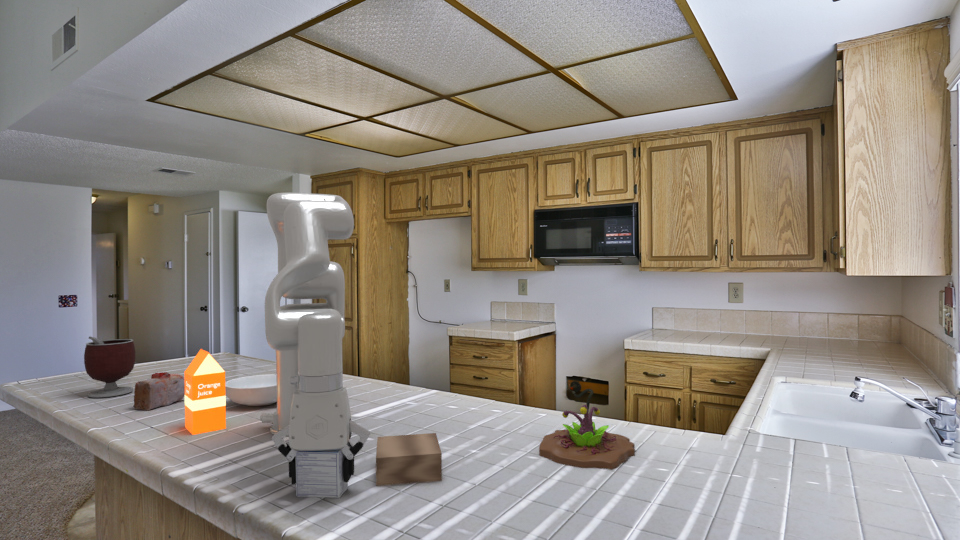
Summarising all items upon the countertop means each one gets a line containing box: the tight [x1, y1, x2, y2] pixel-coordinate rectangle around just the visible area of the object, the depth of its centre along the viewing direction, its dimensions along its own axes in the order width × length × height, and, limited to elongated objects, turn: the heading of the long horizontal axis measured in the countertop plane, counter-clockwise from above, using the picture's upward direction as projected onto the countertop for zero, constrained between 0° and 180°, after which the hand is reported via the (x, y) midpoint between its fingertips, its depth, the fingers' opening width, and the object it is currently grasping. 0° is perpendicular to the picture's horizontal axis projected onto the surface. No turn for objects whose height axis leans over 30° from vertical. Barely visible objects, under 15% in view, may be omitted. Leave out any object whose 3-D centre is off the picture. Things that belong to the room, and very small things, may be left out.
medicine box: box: [295, 449, 349, 499], centre depth 90 cm, size 8×4×9 cm, turn 84°
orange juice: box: [183, 348, 227, 436], centre depth 130 cm, size 8×9×20 cm
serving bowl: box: [225, 373, 277, 407], centre depth 155 cm, size 21×21×7 cm
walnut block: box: [375, 432, 443, 487], centre depth 99 cm, size 12×12×6 cm
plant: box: [538, 404, 636, 470], centre depth 109 cm, size 20×20×11 cm
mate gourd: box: [83, 336, 136, 398], centre depth 169 cm, size 16×14×20 cm
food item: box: [133, 371, 185, 411], centre depth 154 cm, size 14×8×10 cm, turn 167°
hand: (322, 479), depth 90 cm, fingers closed on medicine box, 8 cm apart
